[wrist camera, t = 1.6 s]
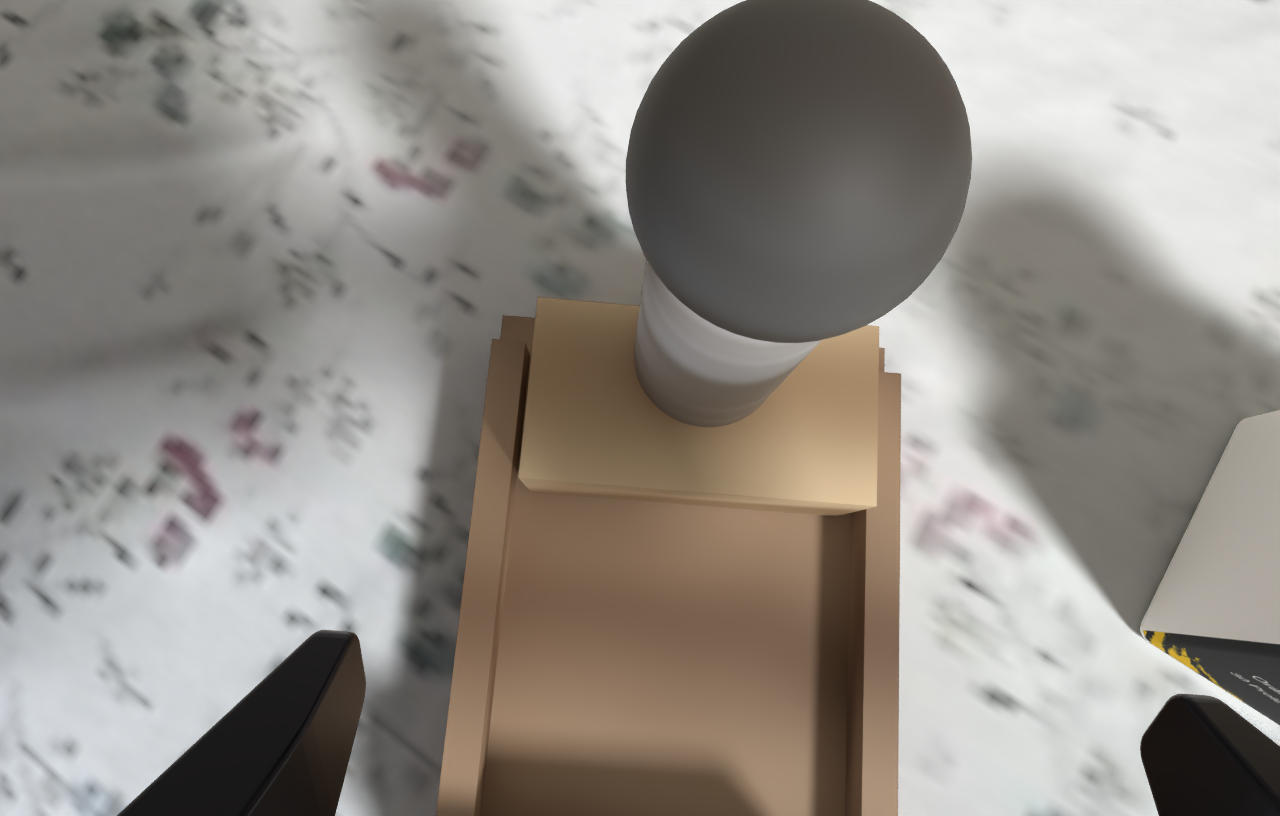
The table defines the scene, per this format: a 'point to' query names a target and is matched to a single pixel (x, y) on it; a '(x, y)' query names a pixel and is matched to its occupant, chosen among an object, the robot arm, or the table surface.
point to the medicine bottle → (1230, 575)
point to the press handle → (757, 267)
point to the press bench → (670, 644)
